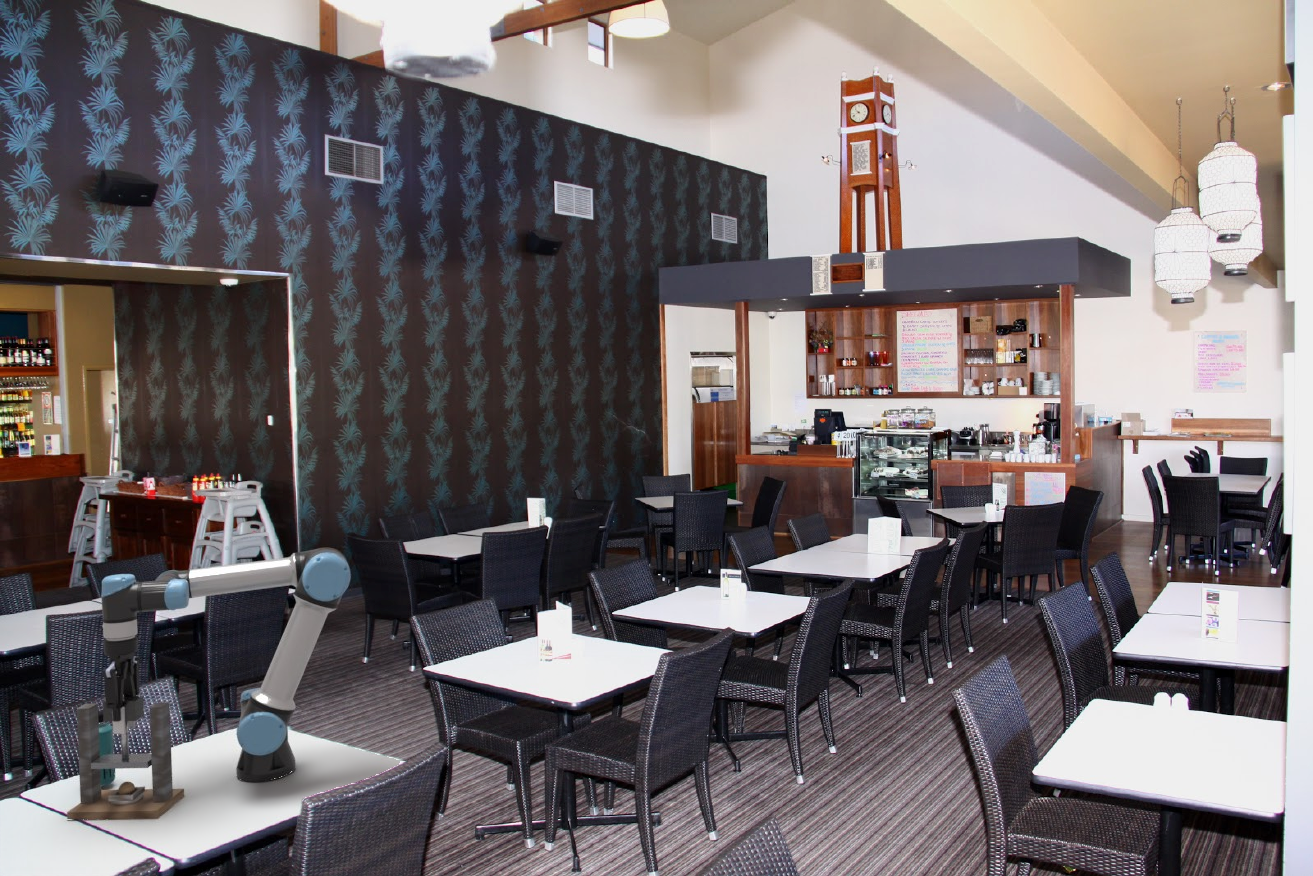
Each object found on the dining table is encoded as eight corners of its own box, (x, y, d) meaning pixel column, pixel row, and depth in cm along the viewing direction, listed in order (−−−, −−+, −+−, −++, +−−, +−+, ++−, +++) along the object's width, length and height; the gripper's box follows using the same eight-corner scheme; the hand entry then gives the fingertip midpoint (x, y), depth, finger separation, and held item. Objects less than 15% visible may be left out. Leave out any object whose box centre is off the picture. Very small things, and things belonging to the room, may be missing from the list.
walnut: (137, 793, 255) (137, 779, 255) (130, 799, 252) (129, 784, 252) (123, 793, 255) (123, 779, 255) (116, 799, 252) (115, 785, 252)
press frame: (184, 796, 261) (180, 696, 260) (157, 818, 247) (153, 713, 246) (98, 797, 261) (94, 697, 260) (67, 820, 247) (62, 715, 246)
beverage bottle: (103, 793, 264) (100, 717, 263) (81, 791, 265) (78, 716, 264) (121, 783, 270) (118, 709, 269) (100, 782, 272) (97, 708, 271)
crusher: (159, 759, 256) (157, 694, 256) (147, 768, 250) (145, 702, 250) (104, 760, 256) (101, 695, 256) (91, 769, 250) (88, 703, 250)
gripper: (123, 629, 260) (127, 719, 261) (86, 646, 243) (90, 742, 244) (152, 629, 260) (156, 719, 261) (117, 645, 243) (121, 741, 244)
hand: (124, 730), depth 253 cm, fingers closed on crusher, 4 cm apart
